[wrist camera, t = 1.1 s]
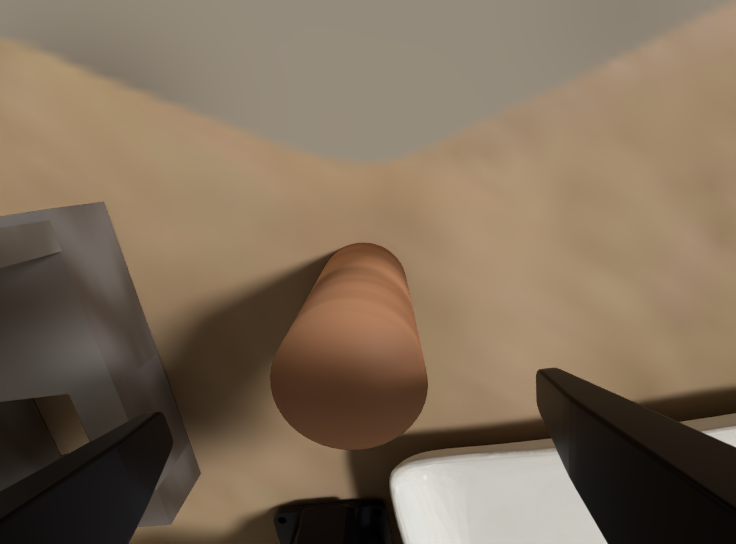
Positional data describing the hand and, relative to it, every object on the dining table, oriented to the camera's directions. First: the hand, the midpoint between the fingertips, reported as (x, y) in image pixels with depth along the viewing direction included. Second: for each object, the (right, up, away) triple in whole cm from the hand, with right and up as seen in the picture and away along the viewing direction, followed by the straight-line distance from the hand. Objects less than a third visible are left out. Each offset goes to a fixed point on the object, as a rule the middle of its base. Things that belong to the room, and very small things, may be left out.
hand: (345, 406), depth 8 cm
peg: (0, +3, +8) cm, 9 cm away
